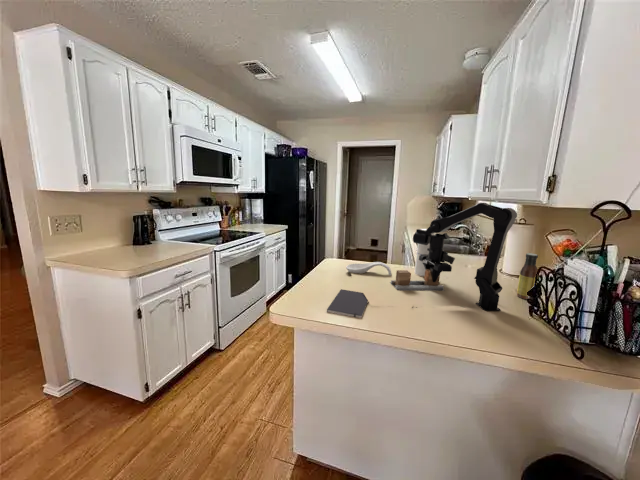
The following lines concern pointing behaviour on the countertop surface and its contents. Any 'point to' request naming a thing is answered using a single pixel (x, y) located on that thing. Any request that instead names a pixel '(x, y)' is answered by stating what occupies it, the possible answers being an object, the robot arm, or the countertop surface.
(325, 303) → the countertop surface
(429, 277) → the brown wooden block
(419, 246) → the cylindrical container
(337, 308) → the notebook
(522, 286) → the sauce bottle
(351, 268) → the spoon rest
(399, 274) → the fixed walnut finger
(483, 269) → the robot arm
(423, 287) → the rail
